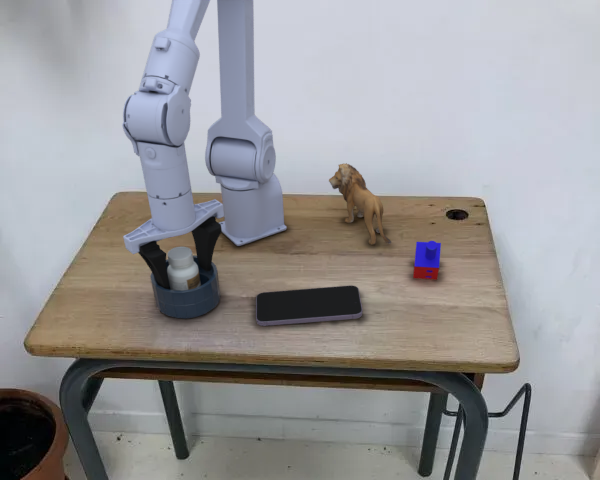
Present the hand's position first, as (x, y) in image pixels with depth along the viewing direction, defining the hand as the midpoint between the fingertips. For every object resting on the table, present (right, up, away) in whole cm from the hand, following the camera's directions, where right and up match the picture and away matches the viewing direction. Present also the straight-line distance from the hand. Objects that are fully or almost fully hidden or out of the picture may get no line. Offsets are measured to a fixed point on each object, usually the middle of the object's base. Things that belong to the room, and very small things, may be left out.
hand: (184, 277), depth 99 cm
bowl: (0, -3, +3) cm, 4 cm away
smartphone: (+18, -4, +1) cm, 18 cm away
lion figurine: (+27, +11, +17) cm, 33 cm away
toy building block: (+36, +2, +6) cm, 36 cm away
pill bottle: (0, -3, +3) cm, 4 cm away
